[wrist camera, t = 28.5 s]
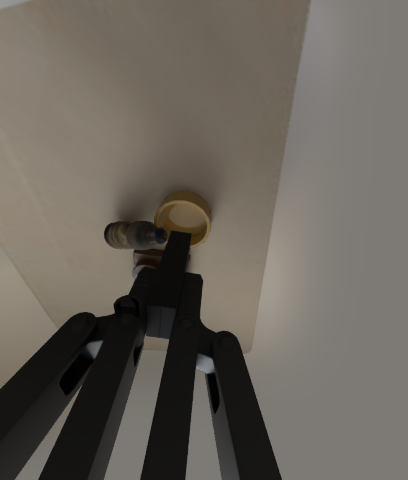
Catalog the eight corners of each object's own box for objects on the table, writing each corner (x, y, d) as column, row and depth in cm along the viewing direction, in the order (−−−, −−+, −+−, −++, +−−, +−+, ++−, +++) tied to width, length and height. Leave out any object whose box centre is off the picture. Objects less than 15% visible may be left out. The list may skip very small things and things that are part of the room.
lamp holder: (215, 195, 40) (214, 205, 36) (206, 240, 46) (205, 252, 42) (159, 186, 39) (154, 195, 36) (158, 233, 45) (154, 245, 42)
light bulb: (171, 258, 37) (118, 253, 45) (181, 230, 39) (128, 230, 47) (149, 243, 32) (94, 240, 41) (162, 212, 34) (107, 216, 43)
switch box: (190, 254, 48) (188, 266, 45) (186, 282, 53) (184, 295, 50) (136, 246, 48) (130, 258, 44) (137, 275, 53) (132, 288, 50)
